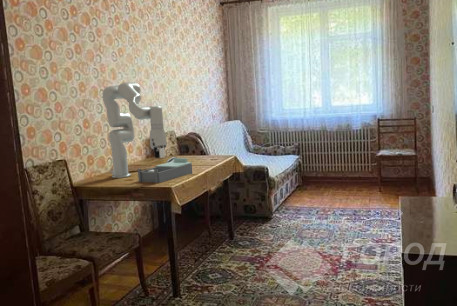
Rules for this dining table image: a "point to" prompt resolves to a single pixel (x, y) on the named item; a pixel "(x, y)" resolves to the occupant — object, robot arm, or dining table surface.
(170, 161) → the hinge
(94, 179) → the dining table surface
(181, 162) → the lid
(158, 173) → the housing
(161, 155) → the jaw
